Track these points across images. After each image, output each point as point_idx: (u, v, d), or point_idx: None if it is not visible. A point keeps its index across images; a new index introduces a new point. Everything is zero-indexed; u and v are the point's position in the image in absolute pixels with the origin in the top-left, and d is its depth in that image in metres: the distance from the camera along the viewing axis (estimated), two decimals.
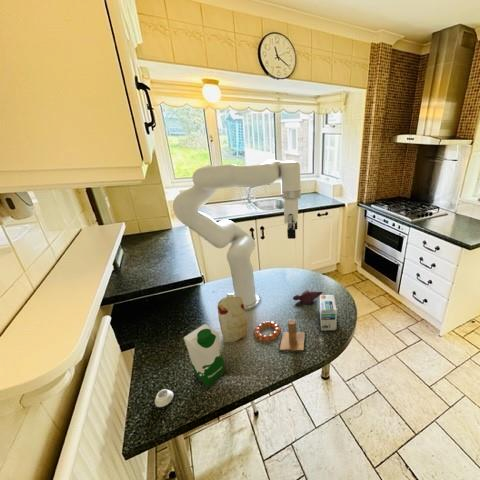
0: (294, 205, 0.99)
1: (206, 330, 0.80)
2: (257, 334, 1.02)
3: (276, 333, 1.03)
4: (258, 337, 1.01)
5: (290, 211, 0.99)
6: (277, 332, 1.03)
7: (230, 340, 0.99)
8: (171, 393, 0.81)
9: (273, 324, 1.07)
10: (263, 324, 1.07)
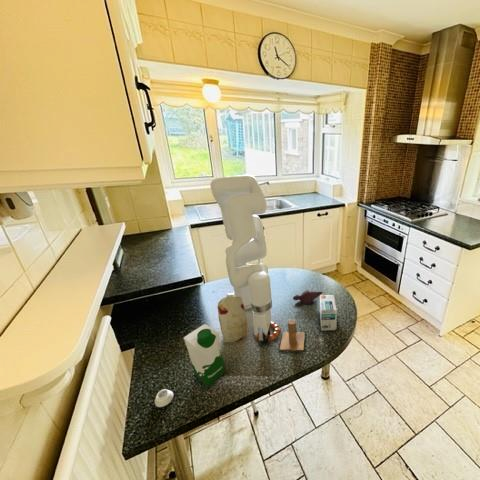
0: (264, 319, 0.92)
1: (206, 330, 0.80)
2: (257, 334, 1.02)
3: (276, 333, 1.03)
4: (258, 337, 1.01)
5: (260, 325, 0.92)
6: (277, 332, 1.03)
7: (230, 340, 0.99)
8: (171, 393, 0.81)
9: (273, 324, 1.07)
10: None
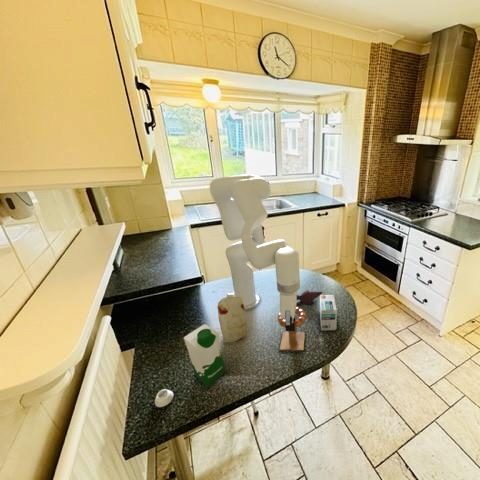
0: (292, 300, 0.82)
1: (206, 330, 0.80)
2: (281, 320, 0.92)
3: (302, 319, 0.93)
4: (283, 323, 0.91)
5: (287, 307, 0.82)
6: (303, 317, 0.93)
7: (230, 340, 0.99)
8: (171, 393, 0.81)
9: (297, 309, 0.97)
10: None
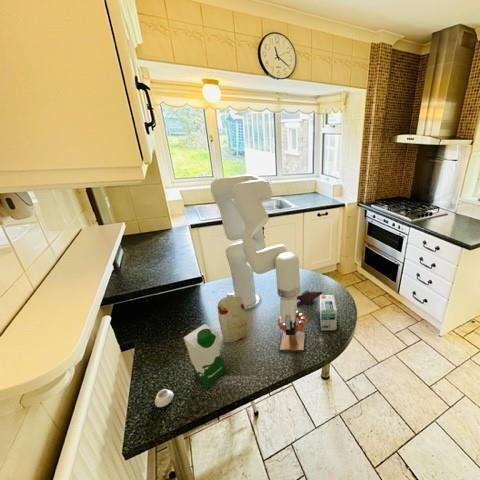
0: (292, 305, 0.83)
1: (206, 330, 0.80)
2: (281, 324, 0.93)
3: (302, 322, 0.94)
4: (283, 327, 0.92)
5: (287, 312, 0.83)
6: (303, 321, 0.94)
7: (230, 340, 0.99)
8: (171, 393, 0.81)
9: (298, 313, 0.98)
10: None
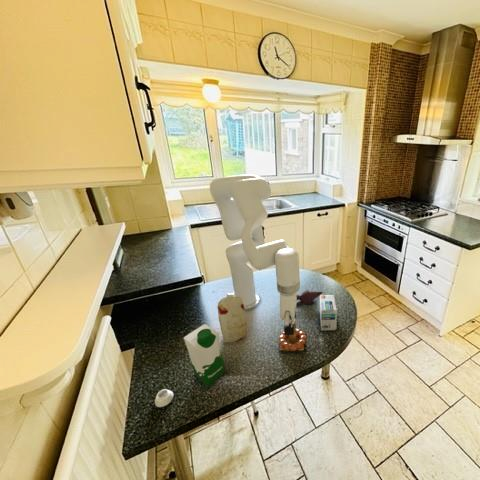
0: (292, 301, 0.82)
1: (206, 330, 0.80)
2: (282, 342, 0.96)
3: (302, 341, 0.97)
4: (284, 346, 0.95)
5: (287, 308, 0.83)
6: (303, 340, 0.98)
7: (230, 340, 0.99)
8: (171, 393, 0.81)
9: (298, 331, 1.01)
10: None
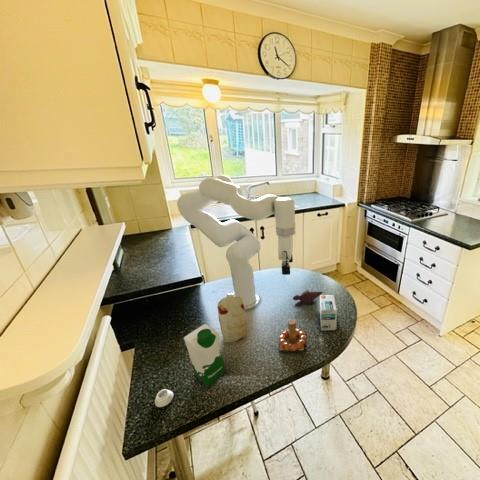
0: (288, 242, 0.97)
1: (206, 330, 0.80)
2: (282, 342, 0.96)
3: (302, 341, 0.97)
4: (284, 346, 0.95)
5: (284, 248, 0.97)
6: (303, 340, 0.98)
7: (230, 340, 0.99)
8: (171, 393, 0.81)
9: (298, 331, 1.01)
10: (287, 331, 1.01)
